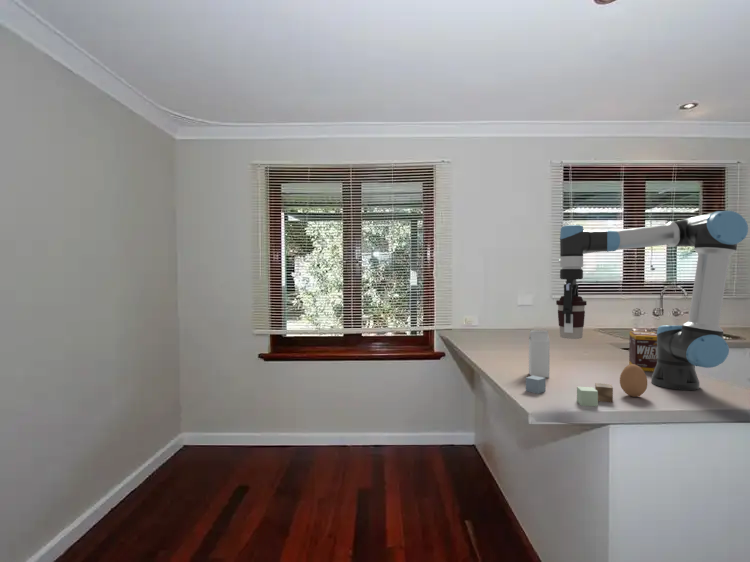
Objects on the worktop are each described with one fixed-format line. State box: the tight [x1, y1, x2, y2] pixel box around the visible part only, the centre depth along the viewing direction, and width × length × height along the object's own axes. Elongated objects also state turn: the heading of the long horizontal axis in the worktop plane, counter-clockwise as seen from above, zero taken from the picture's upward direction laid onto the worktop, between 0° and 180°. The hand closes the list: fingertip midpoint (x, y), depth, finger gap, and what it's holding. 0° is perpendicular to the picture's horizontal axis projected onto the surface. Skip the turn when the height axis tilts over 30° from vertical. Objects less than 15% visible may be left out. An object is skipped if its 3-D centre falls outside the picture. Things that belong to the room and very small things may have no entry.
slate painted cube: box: [525, 375, 547, 394], centre depth 157 cm, size 5×5×5 cm
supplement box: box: [628, 330, 657, 373], centre depth 194 cm, size 10×15×16 cm
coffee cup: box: [555, 295, 588, 340], centre depth 154 cm, size 10×10×15 cm
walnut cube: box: [594, 382, 614, 404], centre depth 146 cm, size 5×5×5 cm
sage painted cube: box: [576, 386, 599, 407], centre depth 142 cm, size 5×5×5 cm
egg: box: [619, 364, 648, 398], centre depth 150 cm, size 8×8×11 cm
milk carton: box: [528, 329, 551, 378], centre depth 180 cm, size 7×7×19 cm
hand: (571, 330), depth 155 cm, fingers closed on coffee cup, 9 cm apart
